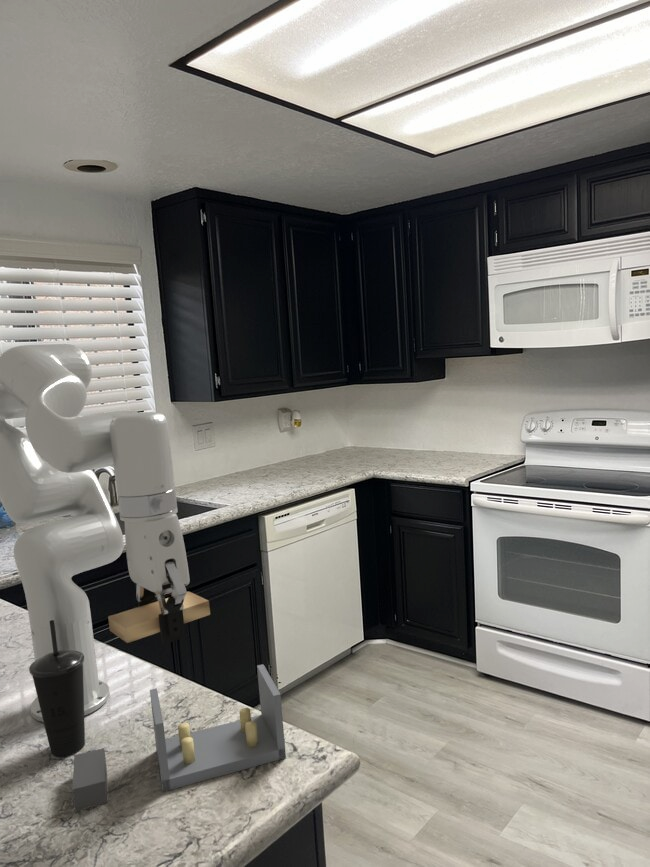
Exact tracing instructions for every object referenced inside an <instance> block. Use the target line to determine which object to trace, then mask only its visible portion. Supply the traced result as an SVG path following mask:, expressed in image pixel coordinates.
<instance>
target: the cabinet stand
mask: <svg viewBox="0 0 650 867" xmlns="http://www.w3.org/2000/svg"><path fill="white" fill-rule="evenodd" d="M256 668H257V671H256V672H257V680H258V690H259V693H258V694H259V703H260V715H255V716H252V714H251V713H252V712H251V708H249V707H243V708H240V709H239V719H238V720H235V721H231V722H226V723H224V724H223V723H222V724H220V725H216V726H212V727H208V728H204V729H200V730H196V731H192V732H191V731H190V724H189V723H188V722H182V723H180V724H178V725H177V731H178V735H176V736H171V737H168V738H166V735H165V727H164V725H165V724H164V719H163V714H162V709H161V703H160V697H159V693H158V689H157V688H153V689H150V690H149V694H150V705H151V714H152V722H153V723H152V724H153V732H154V738H155V739H154V741H155V749H156V750H155V751H156V755H157V762H158V768H159V770H158V771H159V774H160V775H159V776H160V781H161V789H162V793H163V792H164V793H165V792H167V791H170V790H174V789H178V788H183V787H185V786H189V785H192V784H196V783H199V782H203V781H207V780H210V779H215V778H218V777H222V776H225V775H229V774H232V773H236V772H240V771H244V770H247V769H250V768H254V767H258V766H261V765H265V764H268V763H272V762H276V761H279V760H283V759H286V758H287V754H286V744H285V732H284V720H283V719H284V718H283V709H282V698H281V696H282V695H281V693H280V691H279V689H278V687H277V685H276V683H275V682H274V680H273V679H272V676H271V675H270V673H269V672H268V670H267V668H266V666H265V665H264V663H263V664H257V665H256Z"/></svg>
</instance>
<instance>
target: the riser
mask: <svg viewBox="0 0 650 867" xmlns="http://www.w3.org/2000/svg"><path fill="white" fill-rule="evenodd" d="M73 756H74V758H73V770H72V771H73V772H72V788H71V789H72V790H71V791H72V798H73V806H74V812H77V811H81V810H84V809H89V808H92V807H96V806H99V805H102V804H106V803H108V768H107V767H108V765H107V759H106V750H105V747H104V748H99V749H94V750H91V751H87V752H83V753H79V754H75V755H74V754H73Z"/></svg>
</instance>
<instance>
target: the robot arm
mask: <svg viewBox="0 0 650 867" xmlns="http://www.w3.org/2000/svg"><path fill="white" fill-rule="evenodd" d="M92 374H93V372H92V365H91V362H90V359H89V357H88V355H87V354H86V353H85V352H84V350H82V349H81V348H80V347H79V346H75V345H74V344H70V343H69V344H68V343H55V344H25V345H24V344H23V345H17V346H14V347H11V348H9V349H7V350H5V351H4V352H3V353H1V355H0V502H1V504H2V506H3V508H4V512H5V513H6V515H7V516H8V517H9V519H11V521H12V522H13V523H15V524H19V525H29V524H35V523H41V522H44V521H49V520H53V519H54V521H50V522H46V523H42V524H39V525H36V526H34V527H31V528H29V529H27V530H25V531H24V532H22V533H20V535H19V536H18V538H17V539H16V540H15V542H14V546H13V556H14V561H15V564H16V568H17V571H18V574H19V578H20V580H21V583H22V587H23V591H24V594H25V595H24V596H25V600H26V605H27V606H26V607H27V612H28V621H29V626H30V633H31V640H32V642H31V643H32V648H33V658H34V661H36V660H37V659H39V658H41V657H43V656H45V655H47V654H49V653H51V652H53V646H52V638H51V630H50V622H49V621H51V620H54V622H55V630H56V638H57V646H58V651H60V650H72V651H79V652H81V653H83V654H84V662H83V686H84V717H85V716H87V715H91V713H94V712H95V711H96V710H99V709H100V708H101V707H102V706H103V705H105V704H106V702H108V699H109V698H110V693H111V692H110V687H109V685H108V684H107V683H106V682H105V681H102V680H99V673H98V664H97V663H98V662H97V655H96V648H95V638H94V632H93V622H92V613H91V608H90V600H89V598H88V596H87V593H86V592H85V591H84V590H83V589H82V588H81V587H80V586H78V585H77V584H76V583H75V582H74V581H73V579H72V578H73V576H75V575H78V574H80V573H81V574H82V573H83V572H87V571H90V570H94V569H97V568H100V567H102V566H105V565H108V564H111V563H113V562H114V561H116V560H117V559H118V558H120V556H121V555H122V553H123V550H124V544H125V553H126V561H127V570H128V574H129V577H130V579H131V581H132V582H133V583H134V584H133V585H134V586H135V588H136V589H135V590H136V594H135V596H136V600H137V606H138V607H140V606H144V605H147V604H150V603H154V602H157V601H158V602H159V606H160V610H161V613H162V614H158V615H159V624H160V632H159V633H160V639H161V643H162V644H164V645H167V644H169V643H172V642H175V641H179V640H181V639H183V638H185V636H186V628H185V627H186V626H185V623H184V618H183V608H184V606H183V602H184V597H185V595H186V593H187V592H188V591H187V588H186V587H187V586H188V585H189V584H190V581H191V580H190V573H189V572H190V571H189V566H188V565H189V563H188V559H187V552H186V546H185V542H184V536H183V531H182V527H181V525H180V524H181V523H180V521H179V517H178V515H177V513H178V511H179V510H178V503H177V502H178V501H177V495H176V493H177V492H176V485H175V476H174V467H173V465H174V464H173V459H172V458H173V456H172V448H171V441H170V430H169V429H170V428H169V423H168V419H167V418H166V416H165V415H164V414H163V413H160V412H157V411H148V412H147V411H146V412H138V411H132V410H118V411H111V412H110V411H109V412H99V413H92V414H82V415H80V414H81V412H82V411H83V409H84V408H85V405H86V402H87V388H88V387H89V385H90V383H91V380H92ZM20 418H21V419H22V418H25V420H24V421H25V424H24V425H25V431H26V433H24V432H23V431H21V429H18V428H17V427H15V426H13V425H11V424H9V423H8V422H7V421H6V420H13V419H20ZM106 467H113V470H114V477H115V478H114V479H115V487H116V488H115V489H116V494H117V503H118V510H119V519H120V521H122V522H124V535H123V532H122V529H121V526H120V523H119V520H118V519H117V516H116V515H115V513H114V510H113V508H112V506H111V504H110V501H109V500H108V498H107V497H108V496H107V495H106V493H105V490H104V488H103V486H102V484H101V482H100V480H99V477H97V474H96V473H95V471H94V470H96V469H101V468H102V469H103V468H106ZM66 516H72V517H69V518H67V517H66ZM61 517H66V518H63V519H58V520H55V519H56V518H61ZM124 538H125V540H124ZM166 585H169V586H170V587H168V588H165V589H164V588H163V586H166ZM166 594H171V596H168V597H167V598H168V600H167V602H166V601H165V599H166V598H165V595H166ZM30 714H31V716H32V718H33V719H35V720H36V721H38V722H41V723H44V721H43V717H42V713H41V709H40V705H39V701H38V697H37V696H36V697H35V698H34V700H33V701H32V702H31V705H30Z"/></svg>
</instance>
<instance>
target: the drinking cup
mask: <svg viewBox="0 0 650 867" xmlns="http://www.w3.org/2000/svg"><path fill="white" fill-rule="evenodd" d="M49 622H50V630H51V638H52V646H53V652H51V653H49V654H47V655H45V656H43V657H41V658H39V659H37V660H36V661H35V660H33V662H32V663H31V664H30V666H28V667H29V668H28V669H29V670H28V671H29V674H30V675H31V676H32V680H33V683H34V687H35V692H36V698H37V697H38V701H39V705H40V709H41V713H42V717H43V721H44V722H43V725H44V726H43V727H44V729H45V734H46V738H47V741H48V746H49V749H50V753H51V755H52V756H53V757H56V758H65V757H69V756H72V755H74V754H75V755H76V753H79V752H80V751H81V750H83V748H84V747H85V745H86V734H85V733H86V732H85V726H86V724H85V716H84V686H83V662H84V654H83V653H81V652H79V651H72V650H60V651H58V646H57V638H56V630H55V622H54V620H51V621H49Z"/></svg>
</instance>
